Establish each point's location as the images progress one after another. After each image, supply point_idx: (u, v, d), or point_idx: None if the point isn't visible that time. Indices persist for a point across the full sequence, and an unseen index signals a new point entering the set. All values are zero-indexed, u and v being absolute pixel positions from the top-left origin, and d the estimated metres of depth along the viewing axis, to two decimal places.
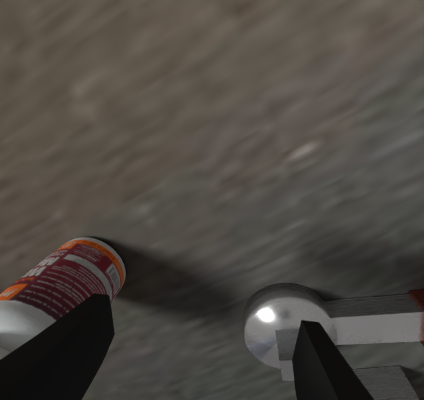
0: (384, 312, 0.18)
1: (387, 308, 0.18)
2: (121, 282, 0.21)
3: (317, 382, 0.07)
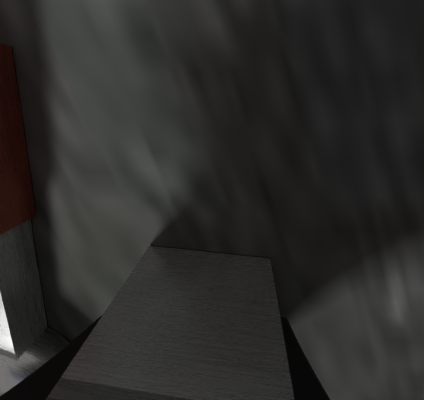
0: None
1: None
2: None
3: None
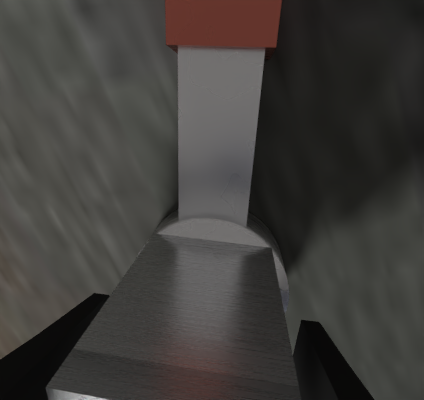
0: (179, 126, 0.09)
1: None
2: None
3: (317, 382, 0.07)
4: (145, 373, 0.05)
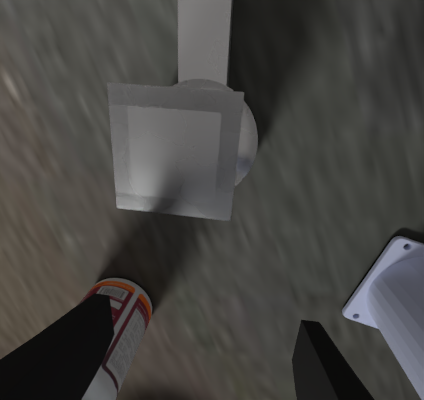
0: (178, 5, 0.13)
1: None
2: (127, 288, 0.21)
3: (317, 382, 0.07)
4: None
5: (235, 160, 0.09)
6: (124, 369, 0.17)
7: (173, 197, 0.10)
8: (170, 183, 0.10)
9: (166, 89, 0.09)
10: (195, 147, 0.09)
